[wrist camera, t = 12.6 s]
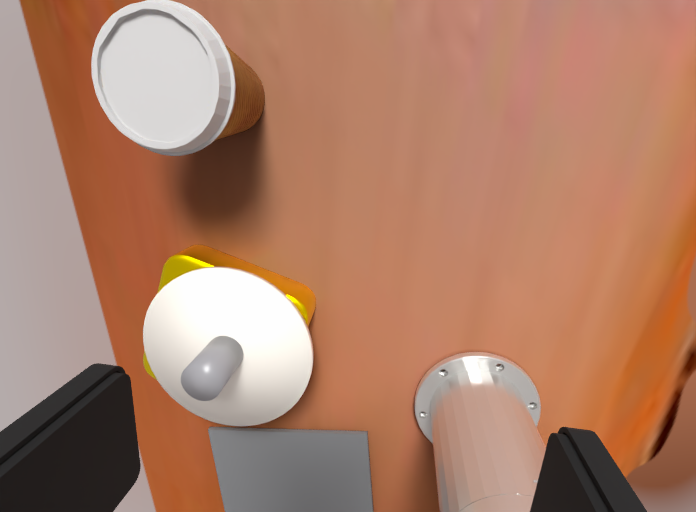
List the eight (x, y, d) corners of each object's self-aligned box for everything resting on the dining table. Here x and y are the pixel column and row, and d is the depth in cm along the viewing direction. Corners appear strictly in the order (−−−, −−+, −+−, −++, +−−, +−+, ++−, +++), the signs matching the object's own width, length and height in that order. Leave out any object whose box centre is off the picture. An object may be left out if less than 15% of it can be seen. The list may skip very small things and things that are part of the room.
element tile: (161, 353, 46) (135, 376, 42) (189, 237, 42) (163, 249, 37) (281, 401, 46) (267, 430, 41) (322, 289, 41) (312, 308, 37)
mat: (376, 556, 50) (376, 560, 50) (234, 546, 53) (232, 550, 53) (367, 431, 45) (367, 434, 45) (209, 426, 48) (207, 429, 47)
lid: (319, 425, 40) (306, 470, 35) (164, 416, 43) (129, 458, 37) (306, 266, 36) (289, 289, 30) (133, 266, 38) (87, 288, 32)
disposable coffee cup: (263, 24, 34) (194, -32, 23) (294, 136, 37) (246, 135, 25) (167, 57, 36) (60, 21, 25) (203, 161, 39) (119, 172, 27)
